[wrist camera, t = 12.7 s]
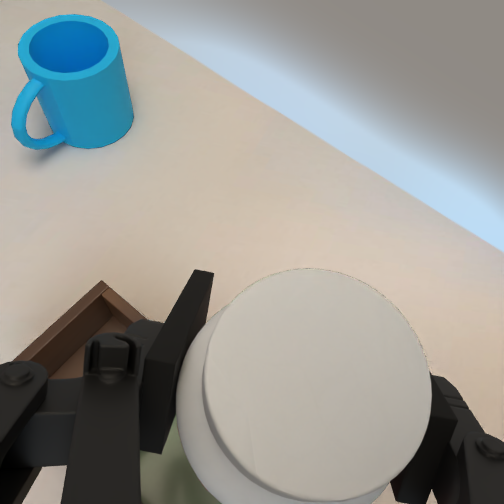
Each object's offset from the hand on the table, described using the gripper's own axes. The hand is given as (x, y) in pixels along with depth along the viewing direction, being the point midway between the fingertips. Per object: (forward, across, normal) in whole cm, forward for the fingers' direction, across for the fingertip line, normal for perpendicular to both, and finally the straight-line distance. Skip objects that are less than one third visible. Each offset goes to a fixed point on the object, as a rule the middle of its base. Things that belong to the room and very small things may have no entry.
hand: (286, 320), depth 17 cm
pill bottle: (0, 0, -5) cm, 5 cm away
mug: (+29, -21, +3) cm, 36 cm away
